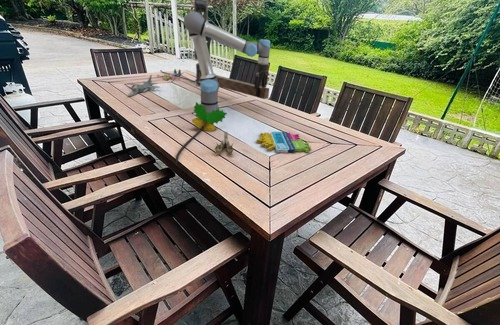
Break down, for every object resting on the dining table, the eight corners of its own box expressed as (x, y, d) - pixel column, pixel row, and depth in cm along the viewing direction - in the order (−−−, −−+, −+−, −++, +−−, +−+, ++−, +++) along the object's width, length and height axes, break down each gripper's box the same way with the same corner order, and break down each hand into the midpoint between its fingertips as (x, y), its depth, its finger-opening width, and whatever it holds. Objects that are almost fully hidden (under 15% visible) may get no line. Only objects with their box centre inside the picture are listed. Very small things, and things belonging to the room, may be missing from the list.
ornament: (218, 133, 171) (224, 110, 169) (221, 134, 163) (227, 111, 161) (186, 125, 162) (192, 101, 160) (189, 126, 155) (195, 101, 153)
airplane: (122, 86, 238) (120, 75, 233) (157, 84, 251) (156, 73, 246) (126, 99, 210) (124, 86, 204) (166, 95, 223) (165, 83, 218)
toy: (189, 70, 290) (176, 74, 264) (189, 77, 293) (177, 81, 267) (166, 67, 295) (151, 71, 269) (167, 74, 298) (152, 78, 272)
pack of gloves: (313, 150, 142) (258, 149, 139) (312, 153, 143) (258, 152, 140) (301, 132, 164) (254, 130, 161) (301, 134, 165) (254, 133, 162)
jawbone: (234, 135, 144) (233, 125, 135) (233, 160, 138) (232, 151, 129) (217, 135, 144) (216, 125, 135) (216, 160, 138) (214, 150, 129)
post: (268, 98, 195) (269, 88, 192) (264, 99, 192) (265, 89, 188) (203, 80, 232) (203, 71, 229) (199, 81, 229) (198, 72, 225)
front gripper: (265, 61, 193) (262, 93, 205) (251, 63, 181) (248, 96, 192) (274, 63, 190) (270, 95, 201) (259, 65, 177) (256, 99, 188)
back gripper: (208, 56, 224) (208, 77, 233) (196, 57, 214) (196, 79, 223) (215, 58, 221) (214, 78, 229) (202, 59, 210) (202, 80, 219)
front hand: (259, 96), depth 196 cm, fingers closed on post, 5 cm apart
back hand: (205, 78), depth 226 cm, fingers closed on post, 5 cm apart
